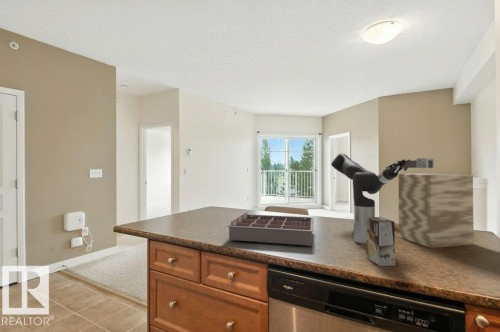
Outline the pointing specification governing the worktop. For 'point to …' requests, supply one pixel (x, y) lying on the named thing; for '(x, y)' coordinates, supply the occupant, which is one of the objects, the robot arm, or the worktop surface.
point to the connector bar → (419, 163)
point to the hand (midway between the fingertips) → (407, 160)
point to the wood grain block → (436, 209)
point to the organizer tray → (272, 229)
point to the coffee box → (380, 241)
